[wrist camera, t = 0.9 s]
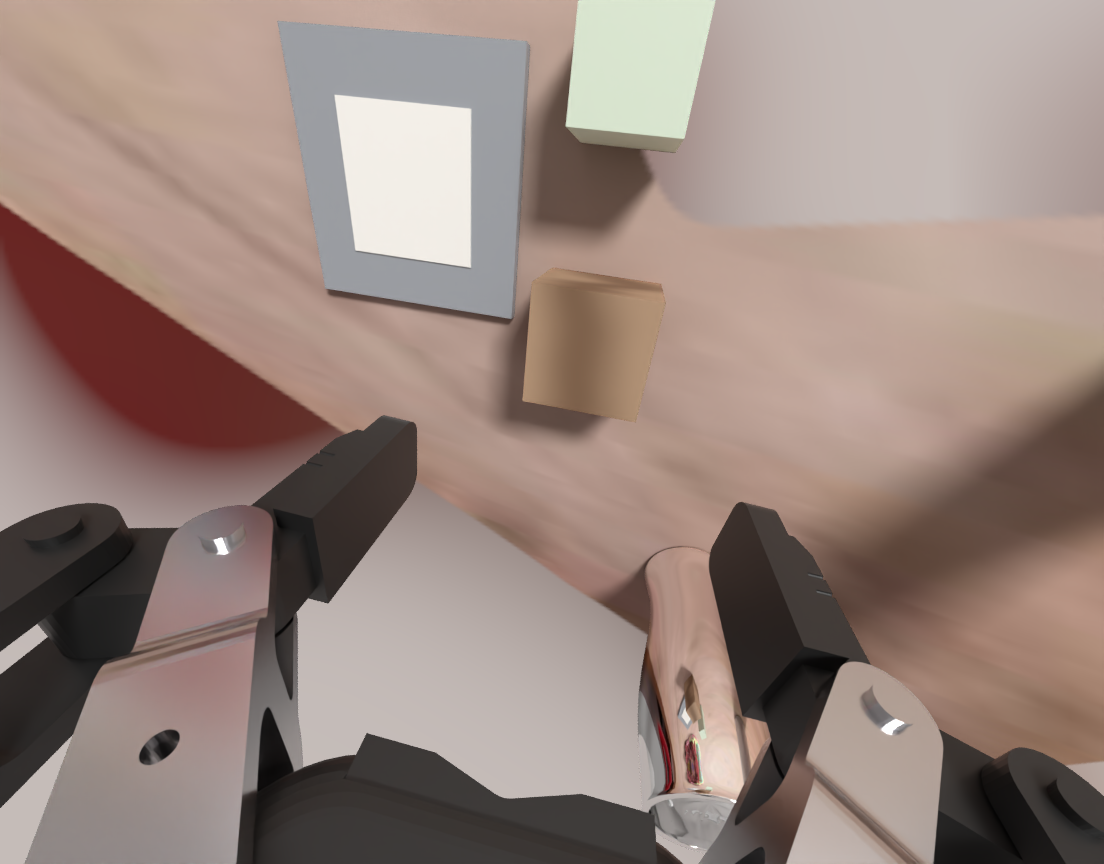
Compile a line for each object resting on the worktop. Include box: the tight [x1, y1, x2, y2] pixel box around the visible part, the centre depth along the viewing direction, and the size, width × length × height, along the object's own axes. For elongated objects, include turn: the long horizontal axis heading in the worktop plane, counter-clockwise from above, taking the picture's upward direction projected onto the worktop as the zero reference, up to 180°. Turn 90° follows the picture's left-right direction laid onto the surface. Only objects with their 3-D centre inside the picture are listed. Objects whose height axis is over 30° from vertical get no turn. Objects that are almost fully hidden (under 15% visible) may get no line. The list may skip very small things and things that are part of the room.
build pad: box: [278, 21, 530, 319], centre depth 21 cm, size 12×12×1 cm
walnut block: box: [522, 268, 666, 422], centre depth 21 cm, size 6×6×5 cm
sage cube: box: [566, 0, 715, 153], centre depth 16 cm, size 4×4×4 cm
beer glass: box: [638, 547, 770, 853], centre depth 25 cm, size 7×7×15 cm
